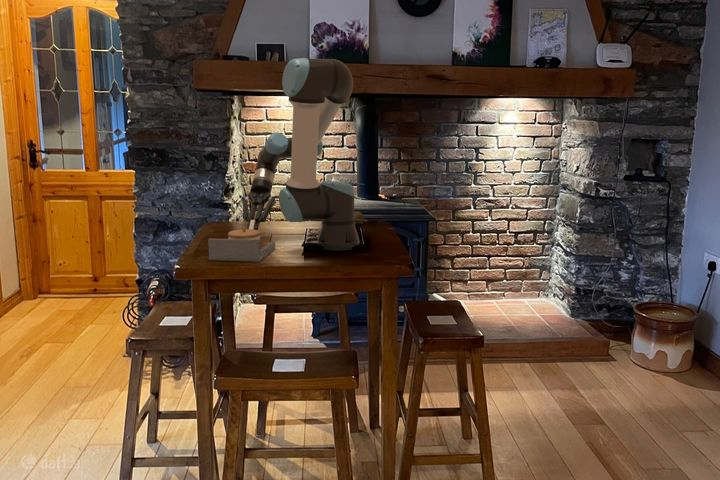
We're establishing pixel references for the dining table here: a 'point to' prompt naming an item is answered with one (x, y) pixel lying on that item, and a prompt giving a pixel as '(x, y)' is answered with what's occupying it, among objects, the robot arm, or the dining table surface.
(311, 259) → the dining table surface
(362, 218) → the kendama
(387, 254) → the dining table surface
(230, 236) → the lidded jar
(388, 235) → the dining table surface
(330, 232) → the robot arm
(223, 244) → the grey u-shaped frame
